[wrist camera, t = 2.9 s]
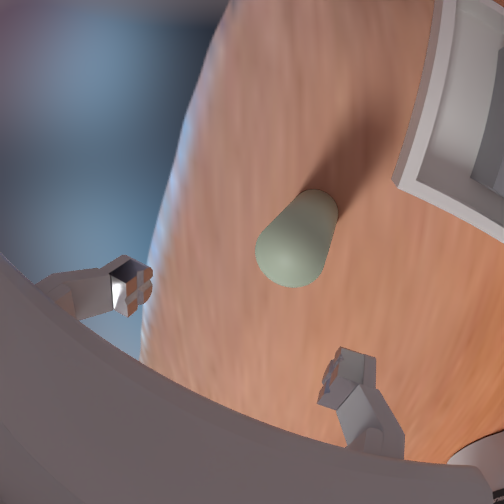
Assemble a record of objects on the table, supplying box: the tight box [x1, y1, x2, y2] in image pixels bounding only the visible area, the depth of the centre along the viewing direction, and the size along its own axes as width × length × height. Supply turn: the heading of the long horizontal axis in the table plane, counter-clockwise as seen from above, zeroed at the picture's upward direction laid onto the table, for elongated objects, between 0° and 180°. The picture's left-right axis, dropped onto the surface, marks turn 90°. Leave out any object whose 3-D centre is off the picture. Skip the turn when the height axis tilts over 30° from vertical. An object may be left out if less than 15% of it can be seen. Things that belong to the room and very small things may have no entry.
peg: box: [255, 189, 338, 288], centre depth 20 cm, size 4×4×9 cm
